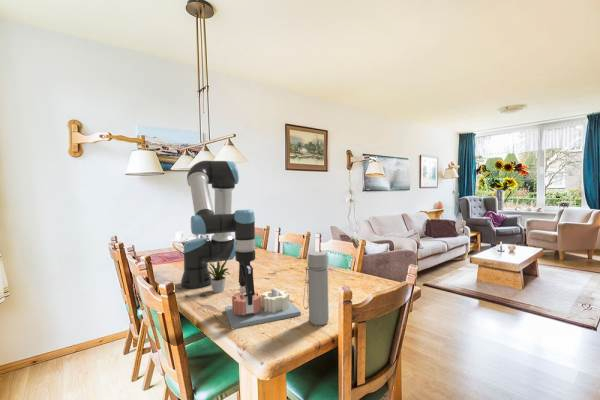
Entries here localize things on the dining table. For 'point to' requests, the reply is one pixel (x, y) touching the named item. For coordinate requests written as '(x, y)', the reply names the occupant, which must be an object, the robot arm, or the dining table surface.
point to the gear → (240, 303)
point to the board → (265, 310)
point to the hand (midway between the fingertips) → (246, 307)
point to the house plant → (218, 277)
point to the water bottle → (317, 288)
